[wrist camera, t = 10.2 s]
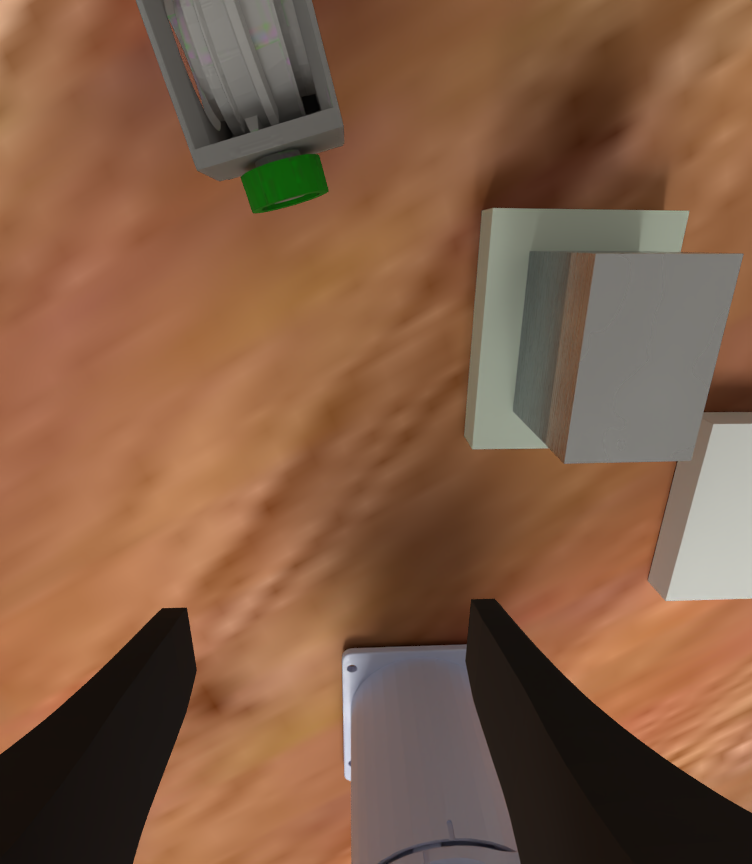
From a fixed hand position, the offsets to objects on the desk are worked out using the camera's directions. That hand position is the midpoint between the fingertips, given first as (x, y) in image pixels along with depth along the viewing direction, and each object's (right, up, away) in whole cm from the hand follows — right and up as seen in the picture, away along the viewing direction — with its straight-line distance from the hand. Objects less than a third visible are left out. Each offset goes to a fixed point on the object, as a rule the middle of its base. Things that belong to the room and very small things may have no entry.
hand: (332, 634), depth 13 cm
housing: (+9, +9, +6) cm, 14 cm away
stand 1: (+8, +9, +8) cm, 15 cm away
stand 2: (+18, +2, +11) cm, 22 cm away
